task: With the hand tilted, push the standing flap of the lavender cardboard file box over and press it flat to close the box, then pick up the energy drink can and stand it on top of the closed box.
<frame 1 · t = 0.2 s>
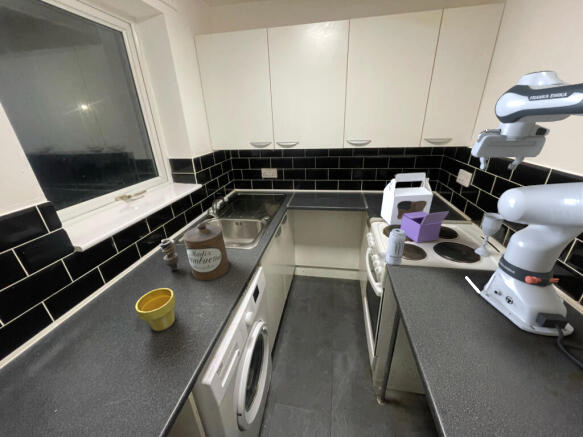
hand: (497, 169, 84), 39 cm above the counter, tool pointing down, fingers open, 8 cm apart
energy drink can: (392, 262, 99), on the counter
light bulb: (175, 270, 99), on the counter
flower pot: (163, 322, 74), on the counter
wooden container: (211, 269, 99), on the counter
flap: (434, 217, 107), point 13 cm above the counter, hinge at 110.0°
gable box: (402, 219, 138), on the counter
chalice: (481, 253, 103), on the counter
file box: (418, 235, 119), on the counter
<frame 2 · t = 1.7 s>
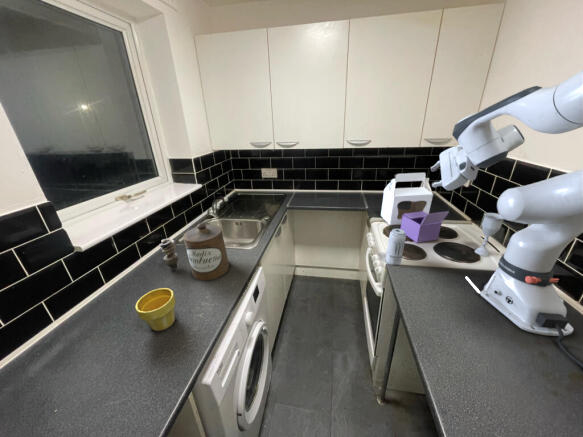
hand: (432, 177, 99), 33 cm above the counter, tool tilted 50°, fingers open, 8 cm apart
nothing on the counter moved.
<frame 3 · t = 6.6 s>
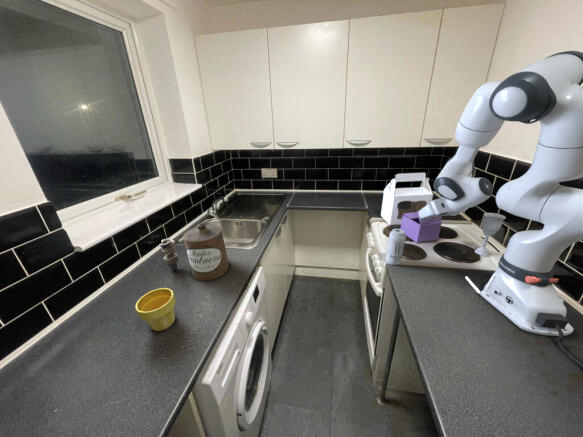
hand: (430, 217, 110), 13 cm above the counter, tool tilted 45°, fingers closed
flap: (429, 216, 110), point 13 cm above the counter, hinge at 54.5°, touching gripper
everything else where it was.
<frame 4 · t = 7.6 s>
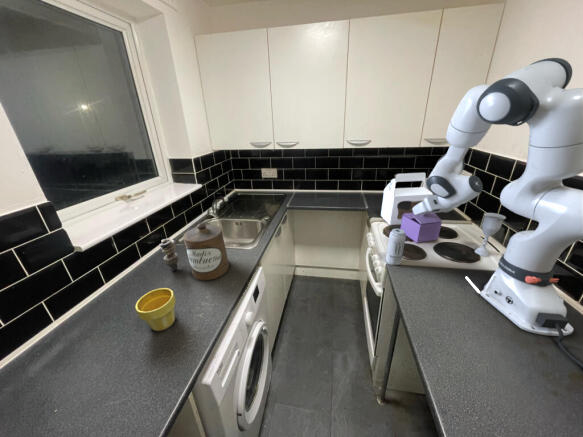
hand: (423, 213, 113), 13 cm above the counter, tool tilted 45°, fingers closed
flap: (427, 218, 112), point 11 cm above the counter, hinge at 19.3°, touching gripper
everything else where it was.
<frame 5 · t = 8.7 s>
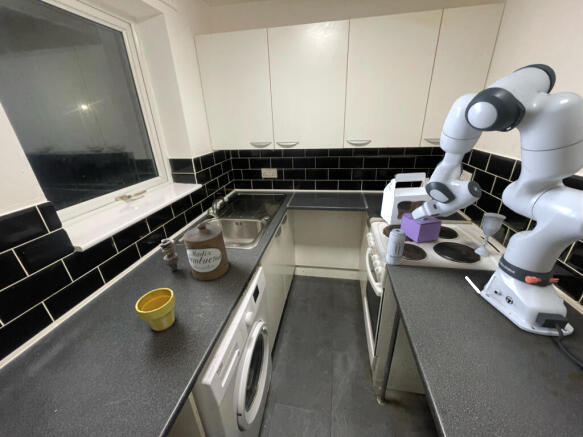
hand: (423, 217, 114), 11 cm above the counter, tool tilted 45°, fingers closed, pressing on flap
flap: (426, 220, 112), point 10 cm above the counter, hinge at -3.6°, touching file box, gripper
everything else where it was.
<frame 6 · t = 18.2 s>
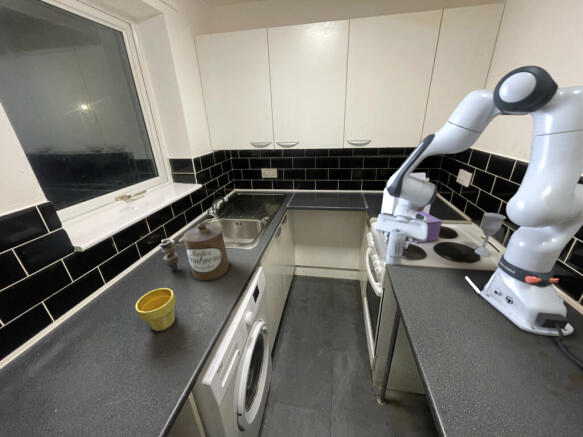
hand: (395, 245, 95), 8 cm above the counter, tool tilted 45°, fingers closed on energy drink can, 6 cm apart
energy drink can: (392, 262, 99), on the counter, touching gripper
flap: (426, 220, 112), point 10 cm above the counter, hinge at -1.2°
everything else where it was.
when the fingers open (19 cm above the counter, at t = 27.0 s): energy drink can stays where it is, resting on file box, flap.
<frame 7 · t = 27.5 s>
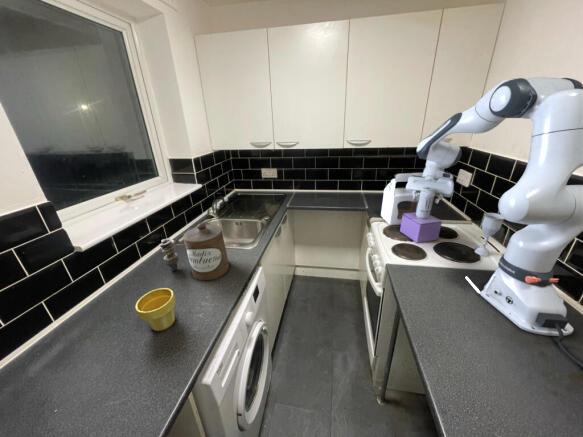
hand: (425, 201, 111), 19 cm above the counter, tool tilted 45°, fingers open, 8 cm apart
energy drink can: (421, 217, 115), point 10 cm above the counter, touching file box, flap
flap: (426, 220, 112), point 10 cm above the counter, hinge at -1.3°, touching energy drink can
everything else where it was.
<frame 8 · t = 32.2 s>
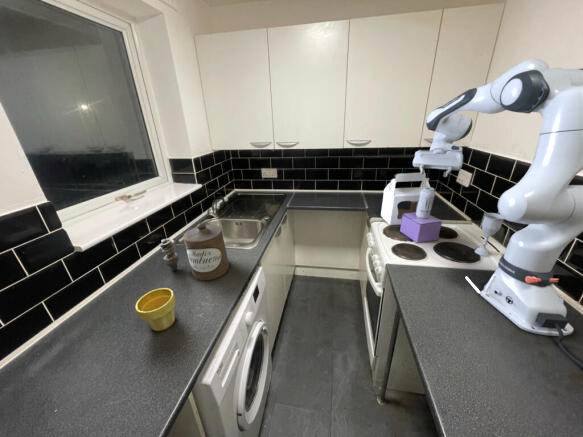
hand: (433, 175, 108), 31 cm above the counter, tool tilted 45°, fingers open, 8 cm apart
energy drink can: (421, 217, 115), point 10 cm above the counter, touching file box
flap: (426, 220, 112), point 10 cm above the counter, hinge at -1.3°
everything else where it was.
at the end: flap at -1° (first picture: +110°); energy drink can inside the target area on the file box (0.0 cm from its centre), point 10.1 cm above the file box's base; energy drink can tilted 2° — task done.
